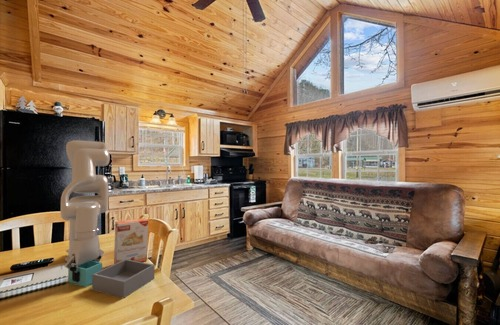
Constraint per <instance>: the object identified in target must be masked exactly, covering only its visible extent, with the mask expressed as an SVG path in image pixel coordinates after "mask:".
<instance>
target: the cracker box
mask: <svg viewBox="0 0 500 325" xmlns="http://www.w3.org/2000/svg"><path fill="white" fill-rule="evenodd" d="M114 224H115V227H114V228H115V229H114V253H113V256H114V257H113V265H114V264H116V263H118V262H121V261H123V260H125V259H127V260H132V261H138V262H143V263H146V262H147V261H148V260H147V259H148V237H149V220H148V219H146V218H136V219H128V220H127V219H125V220H120V221H119V220H118V221H117V220H116V221H114Z"/></svg>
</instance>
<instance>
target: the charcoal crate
mask: <svg viewBox="0 0 500 325" xmlns="http://www.w3.org/2000/svg"><path fill="white" fill-rule="evenodd" d="M155 268H156V266H155V264H151V263H147V262H138V261H132V260H127V259H125V260H123V261H121V262H118V263H116V264H114V263H113V264H112V265H109V266H108V267H106V268H102V270H101V271H99V272H96V273H94V274H92V284H91V290H92V291H95V292H98V293H102V294H105V295H109V296H114V297H118V298H121V299H125V298H126V297H128V296H130V295H131V294H133V293H134V292H136V291H138V290H139V289H140V288H142V287H144V286H145V285H147V284H149V283H150V282H152V281H153V280H155ZM151 280H152V281H151Z"/></svg>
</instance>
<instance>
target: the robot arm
mask: <svg viewBox="0 0 500 325" xmlns="http://www.w3.org/2000/svg"><path fill="white" fill-rule="evenodd" d="M65 148H66V150H65V151H66V155H67V158H68V160H69V162H70V164H71V165H70V166H71V182H69V184H68V185H67V186H66V187H65V188H64V190H63V191H62V194H61V197H60V216H61V219H62V220H64V221H69V242H68V245H69V246H68V249H66V250H65V252H66V253H68V254H67V255H66V257H65V258H64V261H65V262H66V263H65V264H64V268H66V269H67V271H68V270H70V271H71V272H72V280H73V281H75V282H79V281H80V272H79V268H80V266H81V264H84V263H87V262H89V261H96V262H100V261H101V259H102V258H103V257H102V256H103V255H104V253H105V251H104V250H102V249H100V248H101V247H100V246H101V245H100V239H99V235H98V232H99V231H100V229H99V228H98V217H99V214H104V213H106V212H107V211H108V209H109V202H110V201H109V200H110V199H109V180H108V178H107V176H106V175H103V174H96V167H106V166H108V165H109V164H110V160H111V158H110V157H111V156H110V152H109V148H108V146H107V143H106V142H103V141H92V140H91V141H90V140H78V139H77V140H76V139H75V140H70V141H68V142H67V143H66V145H65ZM72 193H75V194H96V195H81V196H80V195H78V196H73V197H72V198H70V195H71V194H72ZM71 264H73V266H71ZM76 266H77V267H76Z"/></svg>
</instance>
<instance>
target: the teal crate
mask: <svg viewBox="0 0 500 325" xmlns="http://www.w3.org/2000/svg"><path fill="white" fill-rule="evenodd" d="M71 266H73V264H71ZM76 267H77V266H76ZM101 270H103V262H100V261H99V262H96V261H89V262H87V263H84V264H81V266H80V268H79V272H80V281H79V282H75V281H73V280H72V272H71V271H70V270H68V269H67V271H68V275H67V283H68V284H72V285H76V286H79V287H84V288H87V287H90V286H92V274H94V273H96V272H99V271H101Z"/></svg>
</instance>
